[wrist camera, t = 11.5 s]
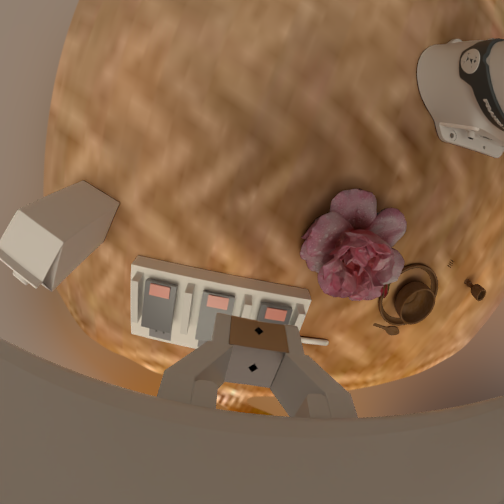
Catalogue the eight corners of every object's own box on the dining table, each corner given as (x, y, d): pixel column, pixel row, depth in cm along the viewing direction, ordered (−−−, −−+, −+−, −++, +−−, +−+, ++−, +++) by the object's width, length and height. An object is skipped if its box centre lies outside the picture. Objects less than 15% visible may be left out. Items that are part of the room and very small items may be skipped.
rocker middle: (234, 295, 40) (235, 298, 39) (225, 340, 41) (225, 345, 39) (204, 289, 40) (202, 292, 38) (195, 334, 40) (194, 340, 38)
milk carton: (83, 179, 36) (-6, 221, 19) (120, 202, 38) (41, 259, 20) (69, 219, 38) (-11, 276, 21) (104, 242, 40) (33, 312, 23)
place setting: (409, 234, 41) (428, 249, 35) (473, 273, 44) (490, 288, 38) (355, 322, 47) (366, 344, 42) (426, 343, 50) (438, 361, 45)
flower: (329, 165, 33) (354, 210, 26) (409, 208, 37) (440, 254, 30) (275, 249, 42) (281, 304, 35) (353, 275, 46) (369, 324, 39)
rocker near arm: (290, 305, 41) (293, 310, 39) (278, 346, 42) (280, 353, 40) (260, 300, 40) (261, 305, 38) (249, 342, 42) (250, 349, 40)
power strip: (348, 296, 44) (359, 316, 39) (320, 355, 49) (326, 377, 44) (138, 255, 41) (124, 272, 36) (136, 322, 46) (126, 343, 41)
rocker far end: (178, 283, 39) (176, 287, 37) (172, 328, 40) (169, 334, 38) (148, 277, 39) (145, 280, 37) (144, 321, 40) (140, 327, 38)
